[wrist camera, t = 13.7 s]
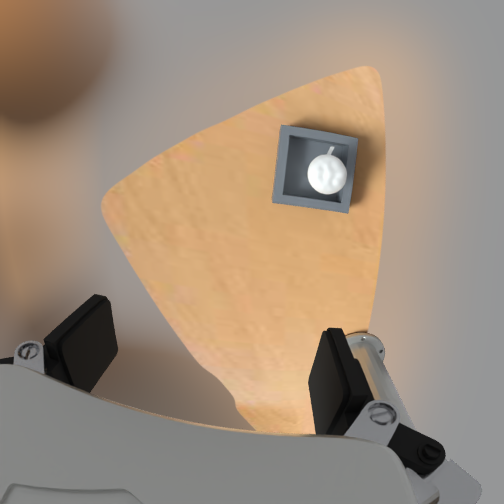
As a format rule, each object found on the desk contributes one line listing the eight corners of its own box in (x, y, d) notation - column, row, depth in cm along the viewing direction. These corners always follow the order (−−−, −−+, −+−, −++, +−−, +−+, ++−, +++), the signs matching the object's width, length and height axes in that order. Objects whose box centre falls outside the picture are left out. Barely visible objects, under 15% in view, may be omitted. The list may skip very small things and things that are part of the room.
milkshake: (331, 153, 36) (353, 149, 26) (329, 190, 37) (349, 197, 28) (300, 150, 36) (311, 144, 26) (298, 187, 38) (309, 194, 28)
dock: (341, 209, 39) (348, 213, 35) (271, 199, 39) (272, 202, 35) (350, 140, 36) (358, 138, 32) (279, 128, 36) (281, 124, 32)
